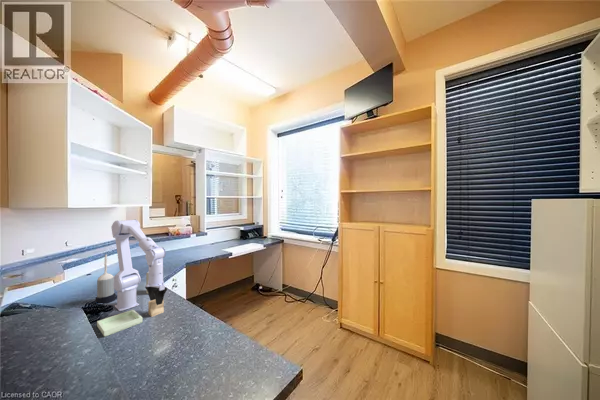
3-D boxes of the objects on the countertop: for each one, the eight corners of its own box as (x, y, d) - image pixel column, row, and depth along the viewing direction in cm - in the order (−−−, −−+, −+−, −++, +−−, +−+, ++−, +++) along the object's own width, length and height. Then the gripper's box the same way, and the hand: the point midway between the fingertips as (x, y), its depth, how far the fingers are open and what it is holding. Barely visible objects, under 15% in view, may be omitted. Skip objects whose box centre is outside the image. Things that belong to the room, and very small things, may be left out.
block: (148, 314, 101) (148, 301, 101) (160, 310, 105) (160, 297, 105) (151, 316, 98) (151, 303, 99) (163, 312, 102) (163, 299, 103)
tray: (97, 326, 91) (97, 321, 91) (133, 313, 101) (133, 309, 101) (104, 337, 84) (104, 331, 84) (142, 322, 94) (142, 317, 94)
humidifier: (117, 296, 121) (117, 252, 122) (112, 302, 114) (112, 255, 114) (99, 299, 118) (99, 254, 118) (92, 305, 110) (92, 257, 111)
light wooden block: (152, 294, 123) (152, 273, 124) (145, 293, 124) (145, 272, 125) (161, 290, 130) (161, 269, 130) (155, 289, 131) (155, 269, 131)
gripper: (140, 272, 103) (140, 301, 103) (151, 278, 94) (152, 309, 94) (157, 269, 109) (157, 296, 109) (169, 274, 100) (169, 303, 100)
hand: (156, 302), depth 102 cm, fingers open, 7 cm apart
